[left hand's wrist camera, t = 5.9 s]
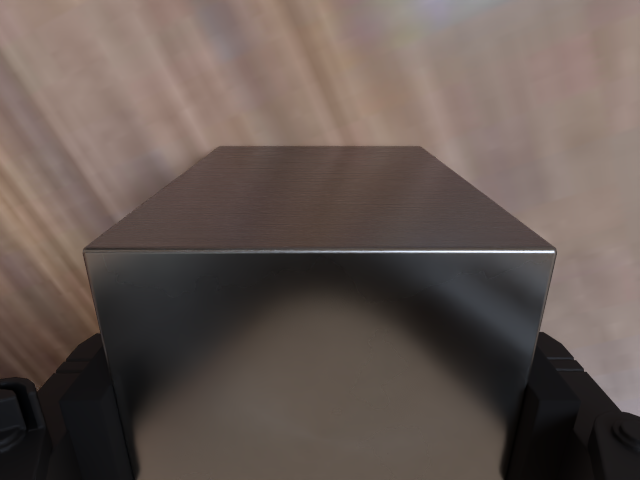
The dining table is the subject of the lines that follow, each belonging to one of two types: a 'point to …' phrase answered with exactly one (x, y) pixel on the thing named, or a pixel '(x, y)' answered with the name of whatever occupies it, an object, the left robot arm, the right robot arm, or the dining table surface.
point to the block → (319, 319)
